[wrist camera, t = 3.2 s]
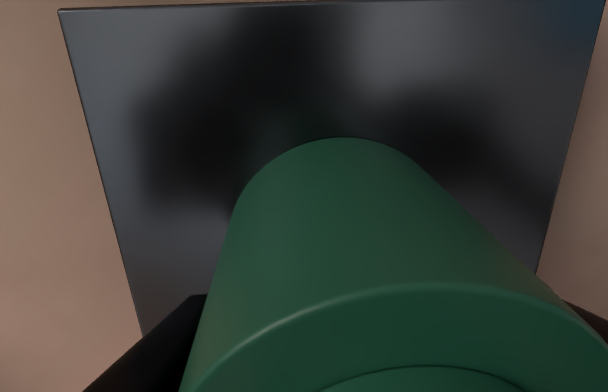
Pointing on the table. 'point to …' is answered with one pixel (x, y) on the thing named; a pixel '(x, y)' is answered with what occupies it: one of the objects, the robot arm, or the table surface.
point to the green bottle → (377, 290)
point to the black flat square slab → (320, 111)
